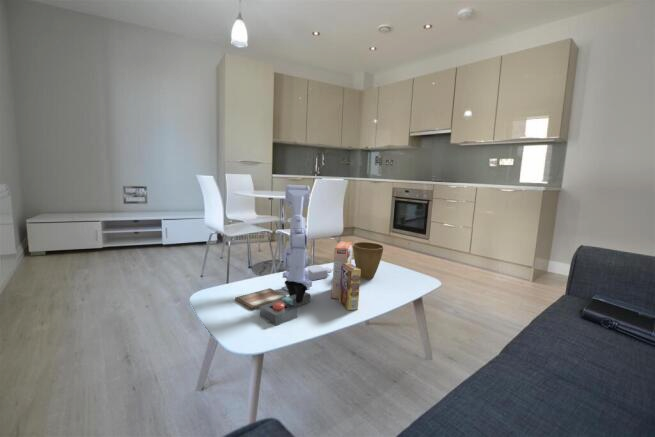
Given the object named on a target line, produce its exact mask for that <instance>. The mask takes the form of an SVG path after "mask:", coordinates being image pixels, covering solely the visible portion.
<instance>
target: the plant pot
mask: <svg viewBox="0 0 655 437" xmlns="http://www.w3.org/2000/svg"><path fill="white" fill-rule="evenodd" d="M384 249H385V247H384V245H383V244H380V243H377V242H376V243H375V242H367V241H358V242H354V243H353V246H352V254H353V260H354V266H356V267H357V268H359V269H361V275H360V279H363V280H370V279H371V280H373V279H374V277H375V275H376V273H377V271H378V268H379V266H380V263H381V260H382V256H383V252H384Z"/></svg>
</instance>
